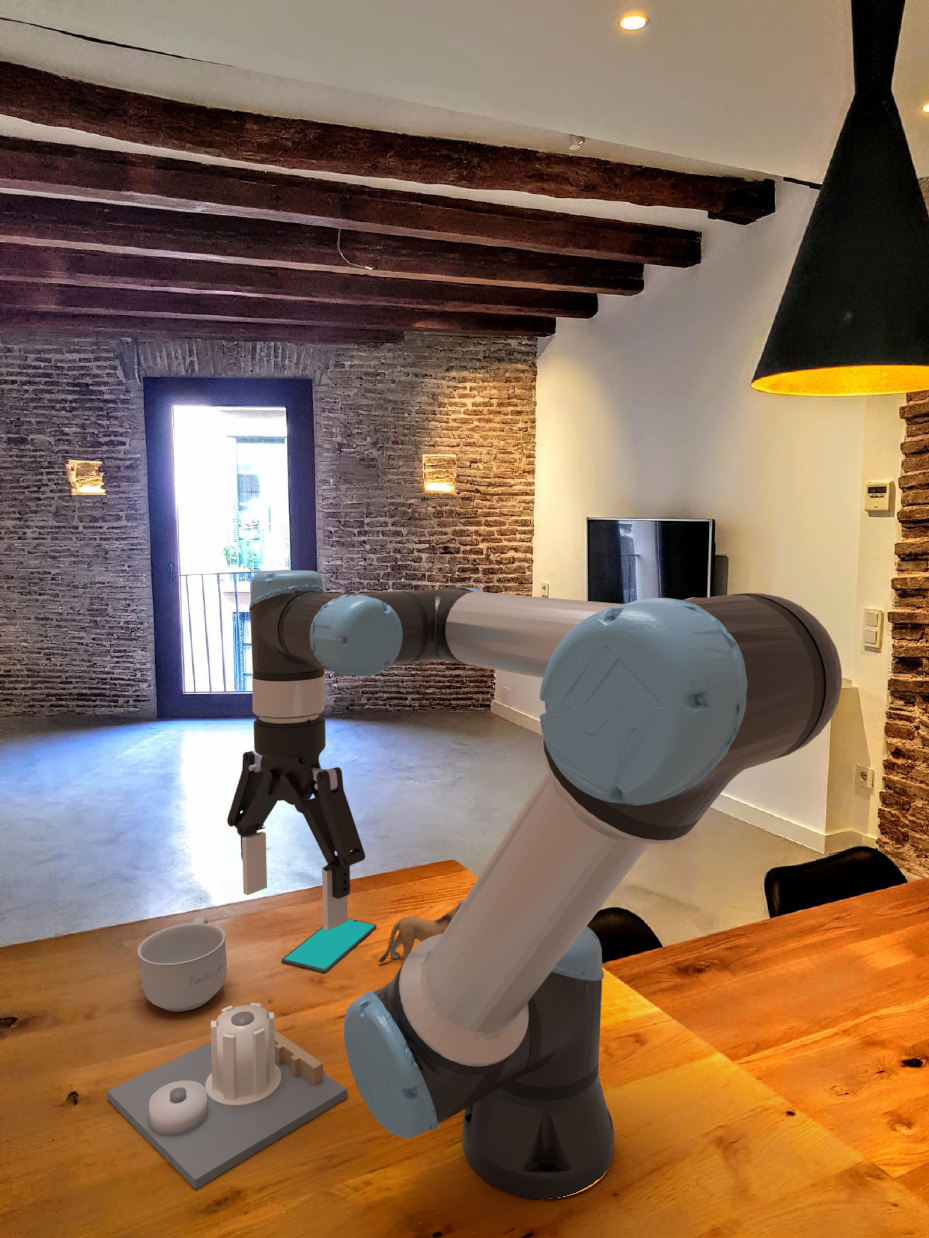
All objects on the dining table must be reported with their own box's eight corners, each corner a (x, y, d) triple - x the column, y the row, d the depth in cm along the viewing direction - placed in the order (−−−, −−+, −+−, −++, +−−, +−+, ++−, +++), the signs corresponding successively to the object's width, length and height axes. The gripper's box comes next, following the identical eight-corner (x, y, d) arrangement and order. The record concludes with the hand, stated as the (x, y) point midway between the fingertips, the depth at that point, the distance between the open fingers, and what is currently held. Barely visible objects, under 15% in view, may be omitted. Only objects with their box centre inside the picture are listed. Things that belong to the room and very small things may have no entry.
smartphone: (280, 959, 122) (336, 915, 136) (280, 965, 122) (336, 920, 136) (325, 971, 119) (377, 924, 133) (325, 977, 119) (377, 930, 133)
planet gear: (285, 1080, 95) (285, 1017, 94) (234, 1108, 90) (233, 1043, 89) (251, 1054, 99) (250, 994, 98) (201, 1079, 95) (200, 1017, 94)
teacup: (201, 1027, 106) (200, 965, 105) (121, 1016, 108) (119, 955, 107) (251, 970, 120) (250, 914, 119) (179, 961, 122) (178, 906, 121)
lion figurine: (478, 950, 126) (479, 891, 125) (485, 969, 121) (486, 907, 120) (377, 956, 124) (377, 896, 123) (379, 975, 119) (379, 913, 118)
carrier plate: (346, 1097, 94) (346, 1066, 93) (195, 1189, 81) (194, 1153, 80) (252, 1029, 106) (252, 1001, 106) (107, 1099, 93) (106, 1068, 92)
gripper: (398, 725, 88) (399, 927, 90) (247, 696, 104) (252, 868, 106) (342, 739, 82) (345, 954, 84) (192, 705, 98) (198, 887, 100)
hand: (293, 907), depth 95 cm, fingers open, 13 cm apart
